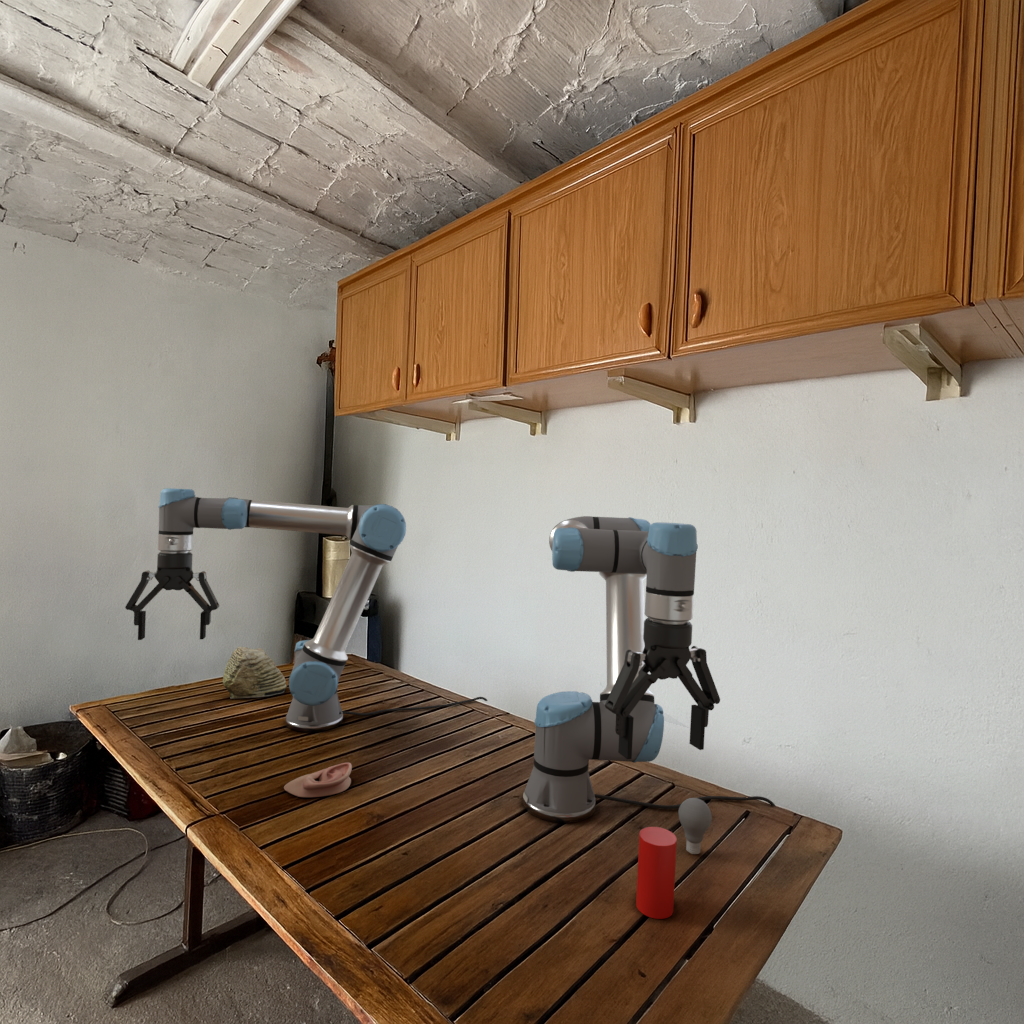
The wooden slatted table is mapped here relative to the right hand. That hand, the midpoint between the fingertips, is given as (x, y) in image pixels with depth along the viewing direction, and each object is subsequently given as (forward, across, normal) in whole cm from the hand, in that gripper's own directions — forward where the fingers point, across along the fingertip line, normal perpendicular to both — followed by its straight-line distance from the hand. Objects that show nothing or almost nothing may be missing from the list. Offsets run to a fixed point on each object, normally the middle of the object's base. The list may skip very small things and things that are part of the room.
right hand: (661, 751), depth 102 cm
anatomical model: (+26, -48, +57) cm, 79 cm away
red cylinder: (+25, 0, 0) cm, 25 cm away
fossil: (+26, -62, +127) cm, 144 cm away
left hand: (-1, -80, +88) cm, 120 cm away
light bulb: (+25, +16, +11) cm, 32 cm away
